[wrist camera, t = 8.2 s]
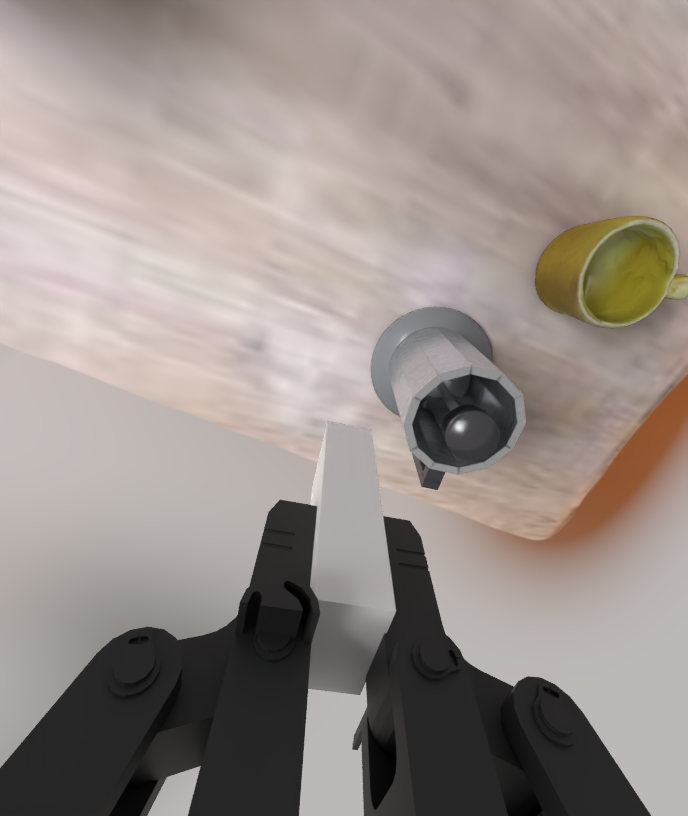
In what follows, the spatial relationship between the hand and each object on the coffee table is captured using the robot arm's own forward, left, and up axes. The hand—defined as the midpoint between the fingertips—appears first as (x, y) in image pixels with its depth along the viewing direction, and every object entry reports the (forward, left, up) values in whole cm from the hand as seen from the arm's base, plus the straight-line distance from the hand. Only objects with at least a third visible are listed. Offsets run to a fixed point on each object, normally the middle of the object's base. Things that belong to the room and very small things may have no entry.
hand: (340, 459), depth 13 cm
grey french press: (+6, +11, -31) cm, 33 cm away
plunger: (+5, +11, -28) cm, 30 cm away
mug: (-9, +24, -32) cm, 41 cm away
